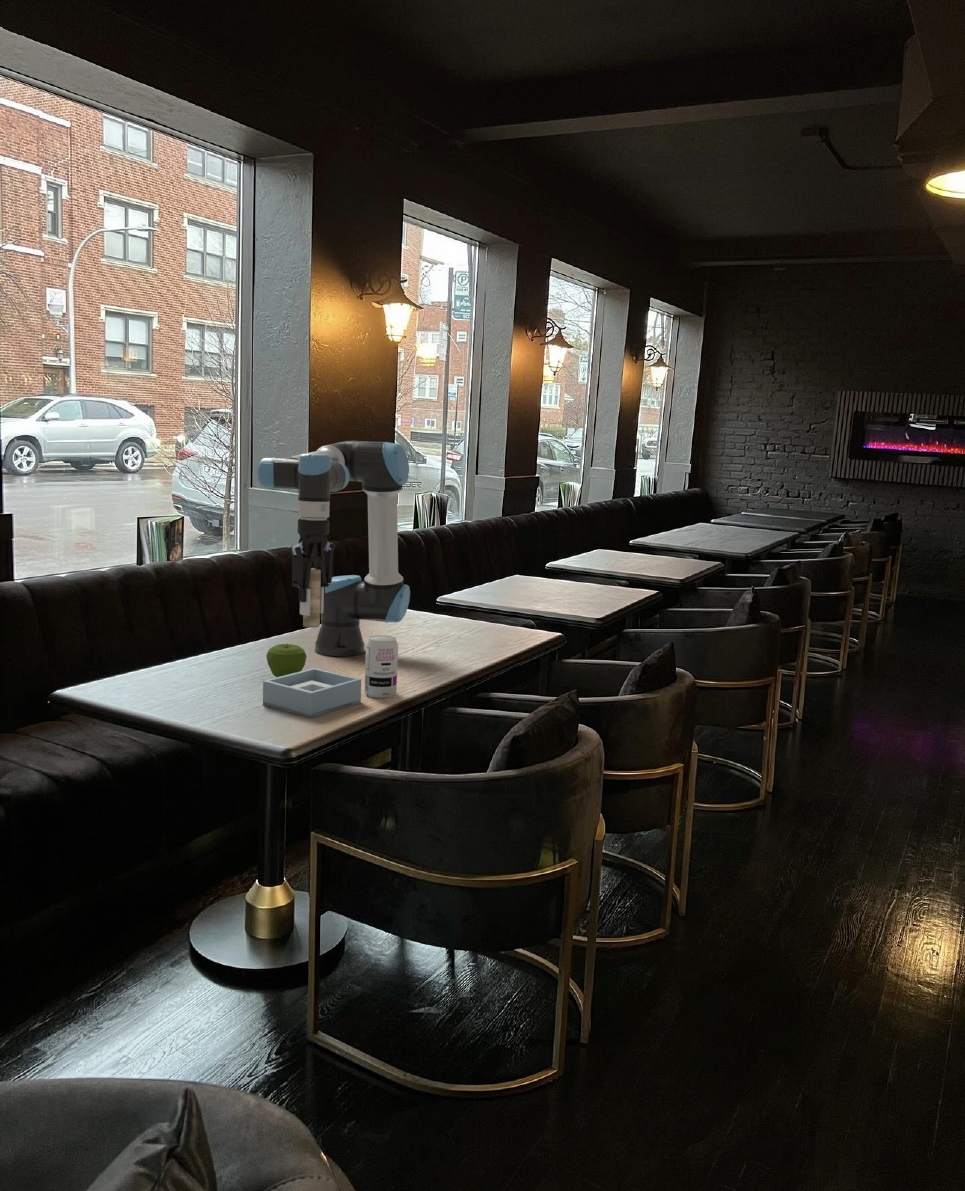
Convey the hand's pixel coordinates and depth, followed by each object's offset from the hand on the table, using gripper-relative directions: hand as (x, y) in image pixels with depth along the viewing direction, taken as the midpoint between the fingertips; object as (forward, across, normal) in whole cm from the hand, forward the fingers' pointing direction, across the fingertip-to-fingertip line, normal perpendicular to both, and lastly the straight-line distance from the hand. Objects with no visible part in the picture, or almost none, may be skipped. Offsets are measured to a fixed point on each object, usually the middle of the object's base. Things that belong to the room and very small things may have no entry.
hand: (311, 613), depth 236 cm
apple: (+23, +12, +20) cm, 33 cm away
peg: (+3, 0, 0) cm, 3 cm away
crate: (+23, 0, -1) cm, 23 cm away
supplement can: (+23, +18, -7) cm, 30 cm away
